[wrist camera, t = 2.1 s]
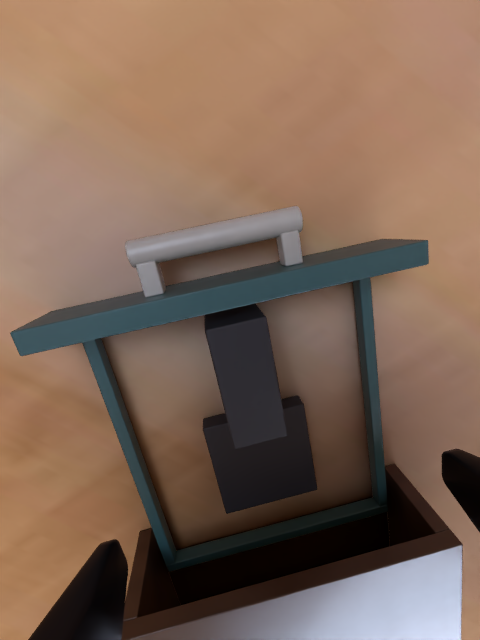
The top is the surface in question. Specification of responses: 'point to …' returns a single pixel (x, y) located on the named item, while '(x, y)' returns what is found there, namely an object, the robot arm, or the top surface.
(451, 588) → the drawer unit
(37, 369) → the top surface
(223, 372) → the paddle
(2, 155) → the top surface
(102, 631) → the robot arm
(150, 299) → the drawer
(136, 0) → the top surface
